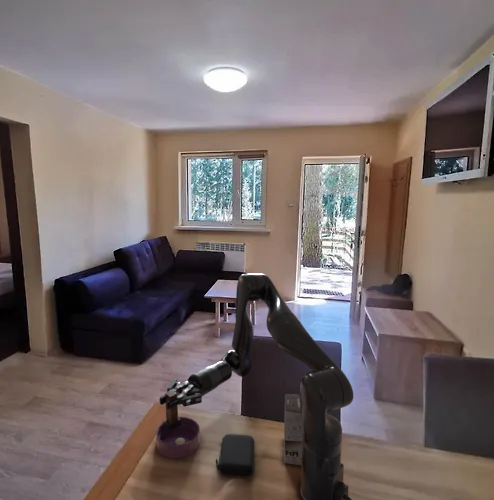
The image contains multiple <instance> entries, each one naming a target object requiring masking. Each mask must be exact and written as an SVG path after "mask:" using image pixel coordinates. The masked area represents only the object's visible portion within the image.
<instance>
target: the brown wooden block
mask: <svg viewBox="0 0 494 500" xmlns="http://www.w3.org/2000/svg"><path fill="white" fill-rule="evenodd" d="M164 395H165V401H166V402H167V401H169V400H171V399H173V398H175V397H177V393H176V392H174V391H173V390H171V391H169V392H167V391H166V392H165V393H164ZM178 406H179V405H176V406H174V407H173V408H170V409H167V408H166V407H165V420H163V421H162V423H163V424H164V428H166V429H167V430H168V431H169V432H171V431H172V430H174V429H175V428H177V427H178V426H180V425H181V419H180V418H179V417H180V416H179V408H178Z"/></svg>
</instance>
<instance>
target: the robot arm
mask: <svg viewBox="0 0 494 500" xmlns="http://www.w3.org/2000/svg"><path fill="white" fill-rule="evenodd" d="M235 296H236V297H235V322H234V330H233V336H232V341H231V348H232V349H230V350H228V351H227V352H226V353H225V354H224V355H223V356H222V357H221V359H219V360H218V361H217V362H215V363H213V364H211V365H209V366H206V367H204V368H202V369H200V370H197V371H196V372H194V373H192V374H191V375H189V377H188V378H187V380H183V381H181V382H180V381H178V379H177V378H176V379H173V380H172V382H171V383H170V384H169V385H168V386H167V388H166V393H167V392H169V391H171V390H173V391H174V392H176V393H177V397H175V398H173V399H171V400H169V401H167V402H166V401H165V394H163V395H161V396H160V397H159V405H161V406H162V405H164V404H165V409H166V408H167V409H170V408H173V407H174V406H176V405H178V406H181V405H182V407H183V408H184V407H189V406H194V405H197V404H201V403H202V402H203V397H204V396H205V395H207V394H209V393H211V392H212V391H214V390H215V389H217V388H218V387H220V386H221V385H222V384H224V383H226V382H227V381H229V380H230V379H231V378H232V375H233V373H234V374H235V375H237V376H238V377H240V378H244V377H247V376H248V375H249V374H250V372H251V370H252V367H253V355H252V345H253V341H254V340H253V339H254V334H255V330H254V324H253V322H252V320H251V318H250V316H249V312H248V306H249V305H248V304H249V302H258V301H261V302H263V303H264V304H265V305H266V307H267V309H268V311H267V315H266V316H267V317H266V329H267V331H268V333H269V335H270V336H271V338H272V339H273V341H274V343H275V344H276V345H277V346H278V348H280V349H281V350H282V351H283V352H285V353H286V354H288V355H290V356H291V357H293V358H295V359H297V360H299V361H300V362H302V363H303V364H305V365H306V366H308V368H309V369H310V370H311V371H308V372H305V373H303V375H302V376H301V379H300V382H299V395H300V411H301V420H302V425H303V431H302V464H301V465H300V466H301V467H300V488H299V489H300V491H299V493H300V496H301V498H302V500H353V499H352V498H351V497H349V485H347V484H346V483H344V468H345V466H344V464H343V463H342V443H343V441H342V440H343V427H342V424H341V422H340V421H339V420H338V419H337V418H336V417H335V416H333V415H331V414H329V413H328V412H332V411H335V410H339V409H342V408H345V407H348V406H350V405H351V404H352V402H353V400H354V389H353V386H352V384H351V382H350V380H349V378H348V377H347V375H346V374H345V372H344V371H343V370H342V369H341V368H340V367H339V365H338V364H337V363H336V362H335V361H333V359H332V358H331V357H330V356H329V355H328V354H327V353H326V352H325V351H324V350H323V348H321V346H320V345H319V344H318V343H317V342H316V340H315V339H314V338H313V337H312V336H311V335H310V333H309V332H308V331H307V329H306V328H305V326H304V325H303V323H302V322H301V321H300V319H299V318H298V317H297V315H295V313H294V312H293V310H291V308H290V307H289V306H288V304H287V302H286V301H285V300H284V299H283V297H282V296H281V294H280V293H279V291H278V289H277V287H276V285H275V284H274V282H273V281H272V279H271V278H270V277H269V276H268V275H267V274H265V273H243V274H241V275H240V276H239V277H238V280H237V283H236V295H235Z"/></svg>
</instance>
